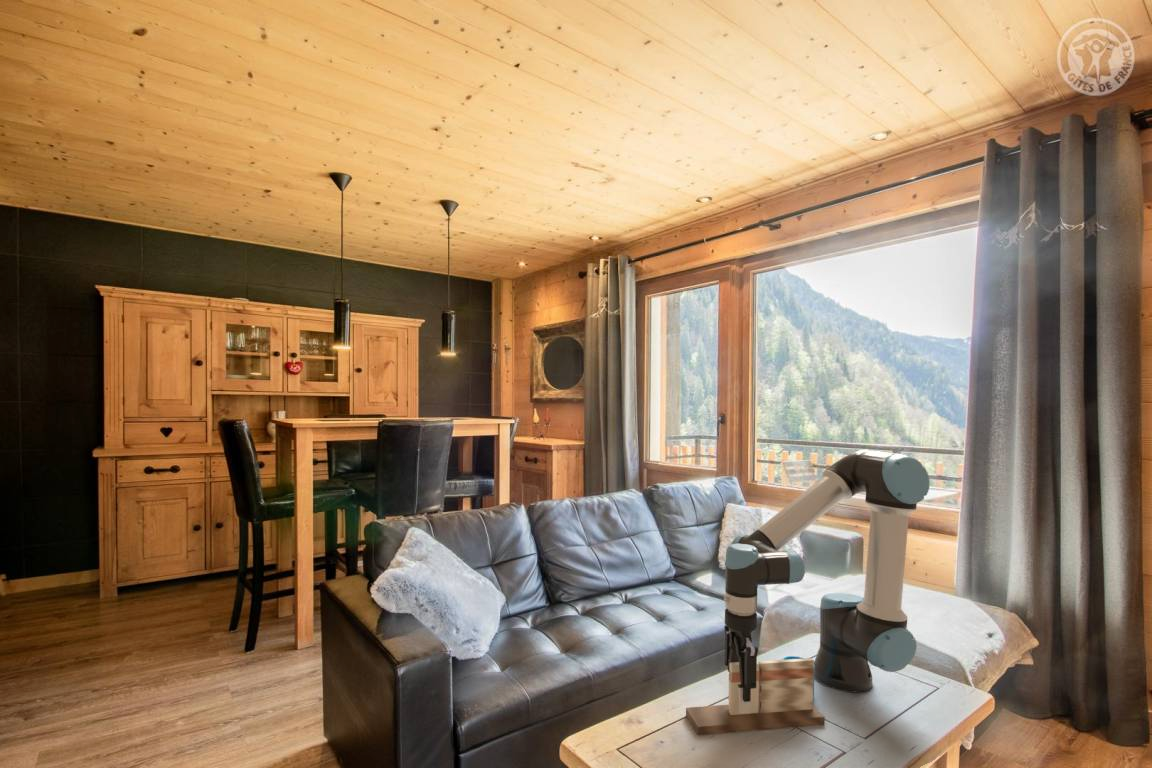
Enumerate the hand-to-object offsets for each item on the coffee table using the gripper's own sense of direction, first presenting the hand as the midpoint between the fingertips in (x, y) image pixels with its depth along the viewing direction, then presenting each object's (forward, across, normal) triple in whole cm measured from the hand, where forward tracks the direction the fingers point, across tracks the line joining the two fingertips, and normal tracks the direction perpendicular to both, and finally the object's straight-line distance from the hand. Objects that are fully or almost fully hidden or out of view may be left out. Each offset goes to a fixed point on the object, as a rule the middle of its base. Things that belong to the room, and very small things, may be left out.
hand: (739, 706), depth 139 cm
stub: (+2, 0, +1) cm, 2 cm away
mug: (+4, -12, +21) cm, 25 cm away
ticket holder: (+4, 0, +4) cm, 5 cm away
